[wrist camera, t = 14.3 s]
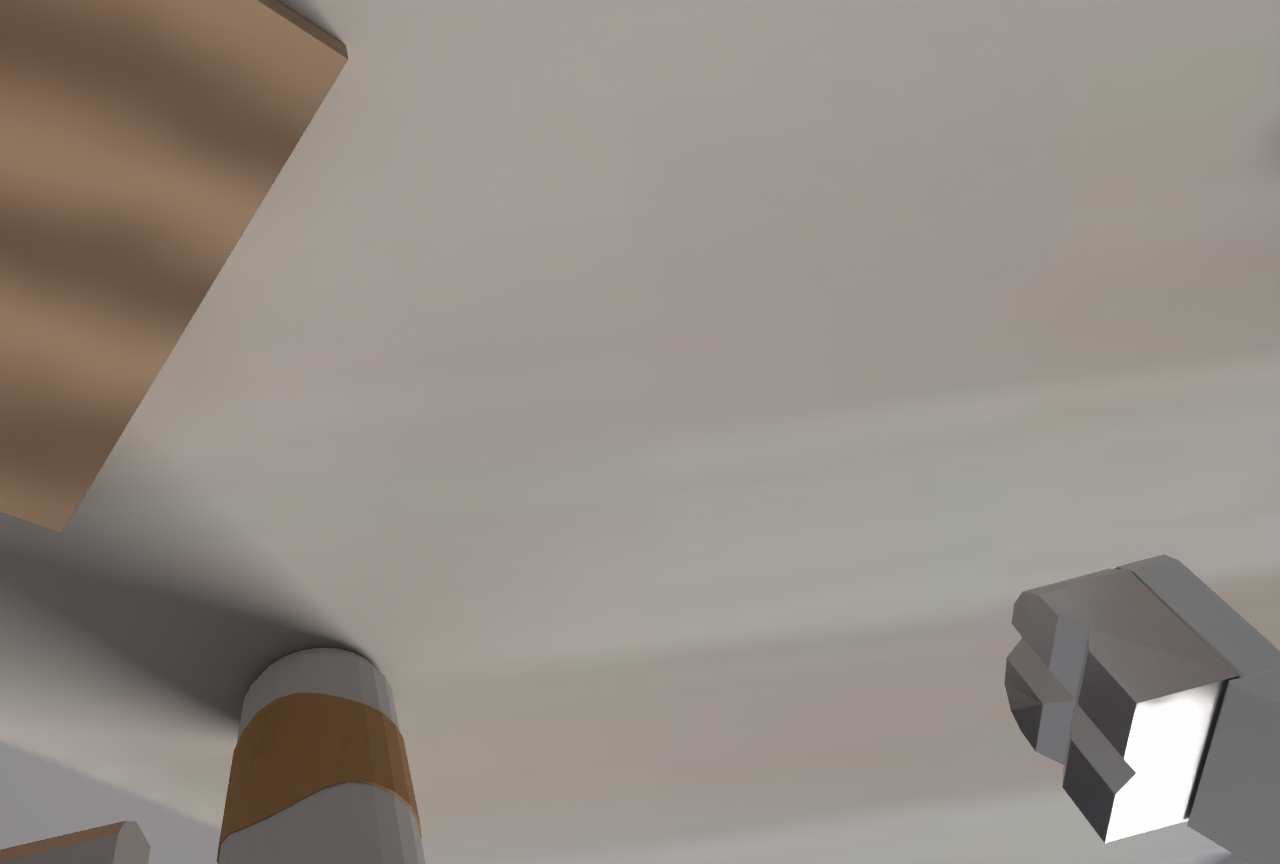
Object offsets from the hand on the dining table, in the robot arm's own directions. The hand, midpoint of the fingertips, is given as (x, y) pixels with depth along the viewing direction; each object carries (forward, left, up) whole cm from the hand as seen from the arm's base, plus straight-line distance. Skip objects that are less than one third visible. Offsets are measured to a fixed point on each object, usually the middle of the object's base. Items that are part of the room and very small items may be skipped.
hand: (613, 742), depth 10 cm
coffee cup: (+26, +12, -31) cm, 42 cm away
